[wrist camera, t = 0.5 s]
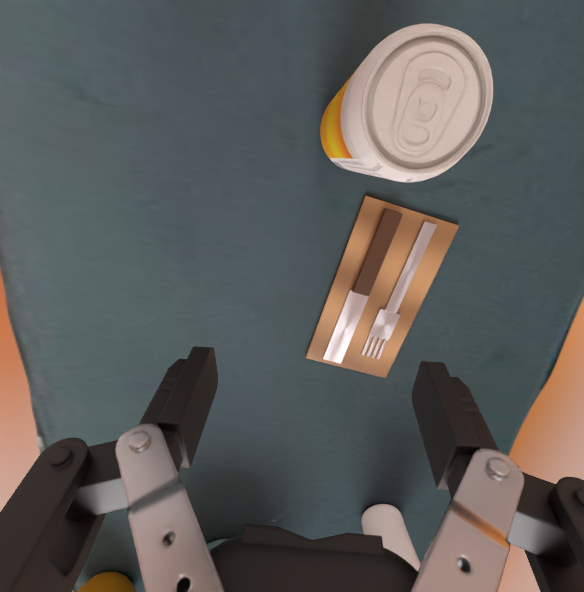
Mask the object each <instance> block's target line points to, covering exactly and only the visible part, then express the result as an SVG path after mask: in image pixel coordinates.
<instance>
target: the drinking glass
mask: <svg viewBox="0 0 584 592" xmlns="http://www.w3.org/2000/svg"><path fill="white" fill-rule="evenodd" d="M361 522H362V528H363V533H364V534H366V535H377V536H382V541H383V547H384V548H386V549H389V550H390V551H392V552H394V553H396V554H398V555H399V556H400V557H402V558H403V559H405V560H406V561H407V562H408V563H409V564H411V565H412V566H413V567H414V568H415V569H416V570H417V571H418V569H419V567H420V565H421V564H420V561H419V559H418V557H417V554H416V552H415V549H414V547H413V544H412V542H411V539H410V537H409V534H408V532H407V529H406V527H405V523H404V520H403V517H402V515H401V513H400V511H399V510H398V509H397V508H396V507H394V506H392V505H389V504H377V505H374V506H371V507H370V508H368V509H367V510H366V511H365V512H364V513H363V515H362V520H361Z"/></svg>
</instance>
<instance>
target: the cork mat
mask: <svg viewBox="0 0 584 592" xmlns="http://www.w3.org/2000/svg"><path fill="white" fill-rule="evenodd" d="M384 208H386V209H389V210H392V211H395V212H398V213H401V214H403V216H402V218H401V221H400V223H399V225H398V228H397V230H396V233H395V235H394V237H393V240H392V242H391V244H390V247H389V249H388V252H387V254H386V256H385V259H384V261H383V264H382V266H381V268H380V271H379V273H378V276H377V278H376V280H375V283H374V285H373V287H372V290H371V292H370V295H369V298H368V300H367V303H366V305H365V307H364V310H363V312H362V315H361V317H360V319H359V322H358V324H357V326H356V329H355V331H354V334H353V336H352V338H351V341H350V343H349V346H348V348H347V350H346V353H345V355H344V357H343V360H342V362H341V364H340V363H336V362H332V361H328V360H325V359H323V356H324V353H325V351H326V348H327V346H328V343H329V341H330V338H331V336H332V333H333V331H334V328H335V325H336V323H337V320H338V318H339V315H340V313H341V310H342V308H343V305H344V303H345V300H346V297H347V295H348V292H349V290H352V288H353V285H354V283H355V280H356V278H357V275H358V273H359V270H360V268H361V265H362V263H363V260H364V258H365V255H366V253H367V250H368V248H369V245H370V242H371V240H372V237H373V235H374V232H375V230H376V227H377V225H378V222H379V220H380V217H381V215H382V212H383V210H384ZM423 221H427V222H430V223H433V224H436V225H437V226H436V228H435V231H434V233H433V235H432V237H431V239H430V241H429V244H428V246H427V248H426V250H425V252H424V254H423V257H422V259H421V261H420V263H419V265H418V267H417V270H416V272H415V274H414V276H413V278H412V280H411V283H410V285H409V287H408V289H407V291H406V293H405V296H404V298H403V300H402V302H401V304H400V307H399V309H398V311H397V313H399V314H401V315H400V317H399V320H398V322H397V324H396V326H395V328H394V330H393V332H392V335H391V337H390V339H389V340H388V341H387V343H386V345H385V347H384V349H383V351H382V353H381V356H380V358H379V359H376V356H377V354H378V351H379V349H380V347H381V345H382V343H383V340H384V339H382V341H381V343H380V346H379V348H378V350H377V352H376V354H375V356H374V358H372V357H371V354H372V352H373V350H374V348H375V346H376V343H377V341H378V339H379V338H378V337H377V340H376V342H375V344H374V346H373V348H372V351H371V353H370V355H369V357H368V356H366V353H367V351H368V349H369V346H370V344H371V342H372V340H373V337H374V336H372V338H371V340H370V342H369V345H368V347H367V349H366V351H365V354H364V355H361V352H362V349H363V347H364V345H365V343H366V340H367V338H368V336H369V334H368V333H369V331H370V329H371V327H372V324H373V322H374V320H375V317H376V315H377V313H378V311H379V308H381V309H385V307H386V304H387V302H388V300H389V298H390V295H391V293H392V291H393V289H394V286H395V284H396V282H397V280H398V277H399V275H400V273H401V271H402V268H403V266H404V264H405V262H406V259H407V257H408V255H409V253H410V250H411V248H412V246H413V244H414V241H415V239H416V237H417V235H418V232H419V230H420V228H421V226H422V223H423ZM458 228H459V225H456V224H453V223H450V222H446V221H443V220H440V219H437V218H434V217H431V216H428V215H425V214H422V213H419V212H415V211H412V210H409V209H406V208H403V207H400V206H397V205H394V204H391V203H388V202H384V201H381V200H378V199H375V198H372V197H369V196H366V195H365V197H364V200H363V203H362V205H361V208H360V211H359V213H358V216H357V219H356V221H355V224H354V227H353V230H352V232H351V235H350V238H349V240H348V243H347V246H346V248H345V251H344V254H343V257H342V259H341V262H340V265H339V267H338V270H337V273H336V275H335V278H334V281H333V284H332V286H331V289H330V292H329V294H328V297H327V300H326V302H325V305H324V308H323V311H322V313H321V316H320V319H319V321H318V324H317V327H316V330H315V332H314V335H313V338H312V340H311V343H310V346H309V348H308V351H307V354H306V358H308V359H312V360H316V361H320V362H324V363H327V364H331V365H335V366H339V367H343V368H347V369H351V370H355V371H359V372H363V373H367V374H371V375H375V376H379V377H383V378H386V376H387V374H388V372H389V370H390V368H391V366H392V364H393V362H394V360H395V358H396V355H397V353H398V351H399V349H400V347H401V345H402V343H403V341H404V339H405V337H406V335H407V333H408V331H409V329H410V327H411V325H412V322H413V320H414V318H415V316H416V314H417V312H418V310H419V308H420V306H421V304H422V302H423V300H424V298H425V296H426V294H427V292H428V289H429V287H430V285H431V283H432V281H433V279H434V277H435V275H436V273H437V271H438V269H439V267H440V265H441V263H442V261H443V259H444V257H445V254H446V252H447V250H448V248H449V246H450V244H451V242H452V240H453V238H454V236H455V234H456V232H457V230H458Z"/></svg>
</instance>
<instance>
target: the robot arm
mask: <svg viewBox="0 0 584 592" xmlns="http://www.w3.org/2000/svg"><path fill="white" fill-rule="evenodd" d="M217 384H218V373H217V366H216V358H215V351H214V348H211V347H193V348H192V350H191V352H190V354H189V356H188V358H187V359H178V360H177V361H176V362H175V363H174V364H173V365H172V366H171V367H169V369H168V371H167V373H166V374H165V376H164V378H163V381H162V382H161V384H160V386H159V389H158V390H157V391H156V393H155V395H154V397H153V399H152V401H151V403H150V404H149V406H148V408H147V410H146V412H145V414H144V416H143V418H142V419H141V421H140V423H139V424H138V425H137V426H134V427H132V428H130V429H129V430H127V431H126V432H125V433H124V434H123V435H122V436H121V437H120V438H119V440H116V441H113V442H109V443H104V444H99V445H95V446H90V447H87V445H86V443H85V442H84V441H83V440H82V439H79V438H67V439H64V440H61V441H58V442H56V443H54V444H52V445H51V446H49V447H48V448H47V449H46V450H44V451H43V452H42V453H41V455H40V456H39V457H38V459H37V460H36V461H35V463H34V465H33V466H32V468H31V469H30V470H29V472H28V473H27V474H26V476H25V477H24V479H23V480H22V482H21V483H20V485H19V486H18V488H17V489H16V490H15V492H14V493H13V495H12V496H11V498H10V499H9V501H8V502H7V504H6V505H5V506H4V508H3V509H2V511H1V512H0V592H72V590H73V588H74V585H75V583H76V581H77V579H78V576H79V574H80V572H81V569H82V567H83V565H84V563H85V560H86V558H87V556H88V554H89V551H90V549H91V547H92V545H93V542H94V540H95V538H96V535H97V533H98V531H99V529H100V526H101V524H102V522H103V520H104V517H105V515H106V513H108V512H111V511H115V510H119V509H123V508H127V507H128V508H129V509H128V510H127V511H128V517H129V522H130V526H131V531H132V535H133V539H134V544H135V548H136V552H137V556H138V561H139V565H140V569H141V574H142V578H143V582H144V587H145V591H146V592H498V589H499V585H500V582H501V578H502V575H503V571H504V568H505V564H506V561H507V557H508V554H509V550H510V544H513V545H515V546H517V547H520V548H522V549H524V550H525V553H526V555H527V558H528V560H529V563H530V566H531V568H532V571H533V573H534V576H535V578H536V581H537V584H538V586H539V589H540V591H541V592H584V480H581V479H579V478H575V477H564V478H562V479H560V480H559V481H558V483H557V484H553V483H551V482H548V481H545V480H542V479H539V478H536V477H534V476H531V475H528V474H526V473H524V472H522V471H521V470H520V468H519V466H518V465H517V464H516V463H515V462H514V461H513V460H512V459H511V458H510V457H508V456H507V455H505V454H504V453H502V452H500V451H499V449H498V447H497V445H496V443H495V441H494V439H493V437H492V435H491V433H490V431H489V429H488V427H487V425H486V423H485V421H484V419H483V417H482V415H481V413H479V408H478V406H477V404H476V403H475V402H474V398H473V396H472V394H471V392H470V390H469V388H468V387H467V386H466V385H465V384H464V383H463V382H462V381H461V380H460V379H459V378H458V377H450V375H449V373H448V371H447V368H446V366H445V364H444V363H442V362H427V361H422V362H421V363H420V366H419V370H418V373H417V376H416V380H415V383H414V387H413V391H412V402H413V407H414V411H415V414H416V418H417V421H418V424H419V428H420V431H421V435H422V438H423V442H424V445H425V449H426V452H427V456H428V459H429V462H430V466H431V469H432V473H433V476H434V480H435V483H436V487H437V489H444V490H449V492H450V495H451V498H452V499H451V501H450V503H449V505H448V507H447V509H446V512H445V514H444V516H443V518H442V520H441V522H440V524H439V527H438V529H437V531H436V533H435V535H434V537H433V540H432V542H431V544H430V546H429V548H428V550H427V552H426V554H425V556H424V559H423V561H422V563H421V565H420V567H419V569H418V571H417V570H416V569H415V568H414V567H413V566H412V565H411V564H409V563H408V562H407V561H406V560H405V559H403V558H402V557H400V556H399V555H398V554H396V553H394V552H392V551H390V550H389V549H386V548H384V547H383V541H382V536H377V535H366V534H354V533H345V534H340V535H335V536H331V537H326V538H321V539H317V540H310V539H307V538H305V537H302V536H300V535H297V534H295V533H292V532H289V531H287V530H284V529H282V528H279V527H274V526H262V525H251V524H244V529H243V534H242V535H238V536H235V537H232V538H229V539H227V540H225V541H223V542H221V543H220V544H218V545H217V546H215V547H214V548H212V549H211V550H210V551H209V549H208V546H207V544H206V541H205V539H204V536H203V533H202V531H201V528H200V526H199V523H198V520H197V518H196V515H195V513H194V510H193V507H192V505H191V502H190V500H189V497H188V495H187V492H186V489H185V487H184V484H183V482H182V480H180V477H179V475H178V472H179V469H180V467H182V468H190V467H191V464H192V461H193V458H194V455H195V452H196V449H197V446H198V443H199V440H200V437H201V434H202V431H203V428H204V426H205V423H206V420H207V417H208V414H209V411H210V408H211V405H212V402H213V399H214V396H215V393H216V390H217Z"/></svg>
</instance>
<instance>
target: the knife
mask: <svg viewBox="0 0 584 592" xmlns="http://www.w3.org/2000/svg"><path fill="white" fill-rule="evenodd" d="M402 216H403V214H401V213H398V212H395V211H392V210H389V209H386V208H384V210H383V212H382V215H381V217H380V220H379V222H378V225H377V227H376V230H375V232H374V235H373V237H372V240H371V242H370V245H369V248H368V250H367V253H366V255H365V258H364V260H363V263H362V265H361V268H360V270H359V273H358V275H357V278H356V280H355V283H354V285H353V288H352V290H349V292H348V295H347V297H346V300H345V303H344V305H343V308H342V310H341V313H340V315H339V318H338V320H337V323H336V325H335V328H334V331H333V333H332V336H331V338H330V341H329V343H328V346H327V348H326V351H325V353H324V356H323V359H325V360H328V361H332V362H336V363H340V364H341V362H342V360H343V357H344V355H345V353H346V350H347V348H348V346H349V343H350V341H351V338H352V336H353V334H354V331H355V329H356V326H357V324H358V322H359V319H360V317H361V315H362V312H363V310H364V307H365V305H366V303H367V300H368V298H369V295H370V292H371V290H372V287H373V285H374V283H375V280H376V278H377V276H378V273H379V271H380V268H381V266H382V264H383V261H384V259H385V256H386V254H387V252H388V249H389V247H390V244H391V242H392V240H393V237H394V235H395V233H396V230H397V228H398V225H399V223H400V221H401V218H402Z"/></svg>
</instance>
